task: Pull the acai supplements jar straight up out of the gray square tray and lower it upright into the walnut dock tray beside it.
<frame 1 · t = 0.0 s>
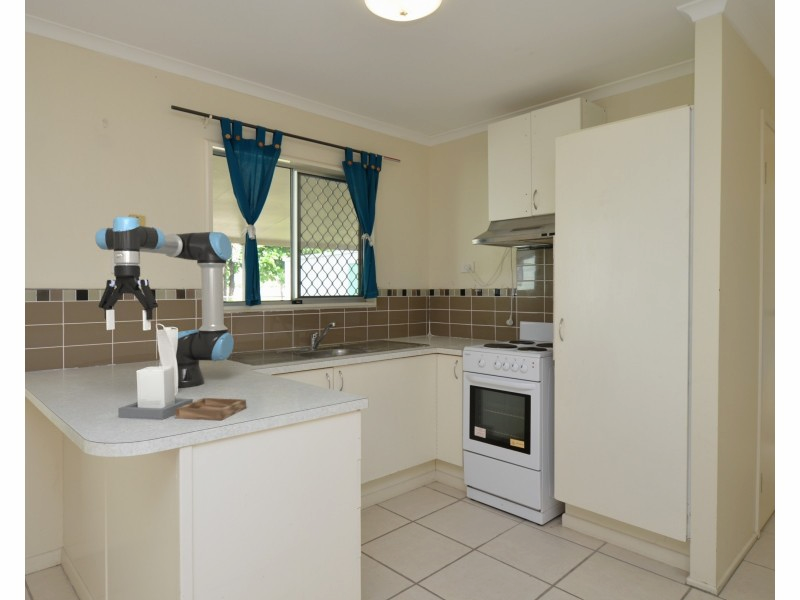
hand: (128, 329, 166), 28 cm above the worktop, fingers open, 13 cm apart
gray square tray: (157, 412, 170), on the worktop
dock tray: (212, 413, 168), on the worktop
skyscraper: (168, 396, 196), on the worktop
supplement box: (157, 413, 170), resting in gray square tray
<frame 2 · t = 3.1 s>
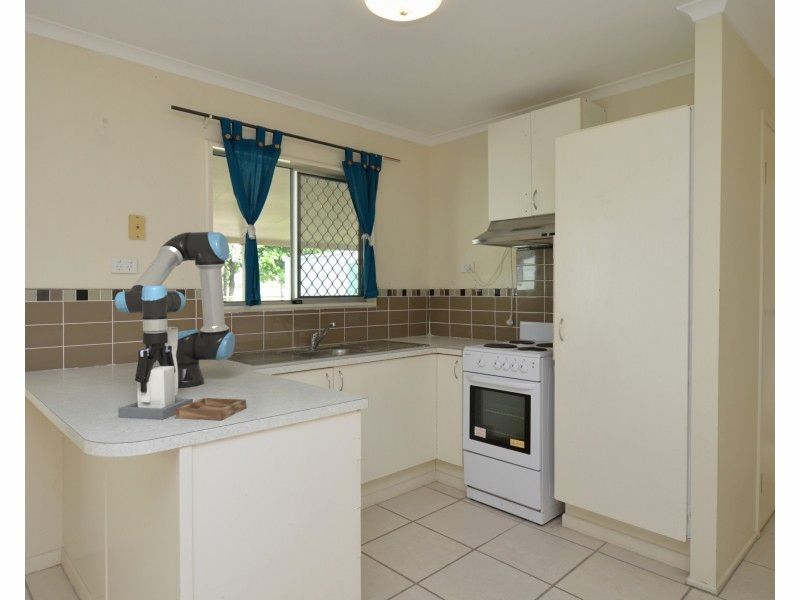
hand: (156, 398, 170), 5 cm above the worktop, fingers closed on supplement box, 10 cm apart
supplement box: (157, 412, 170), resting in gray square tray, touching gripper
everything else where it was.
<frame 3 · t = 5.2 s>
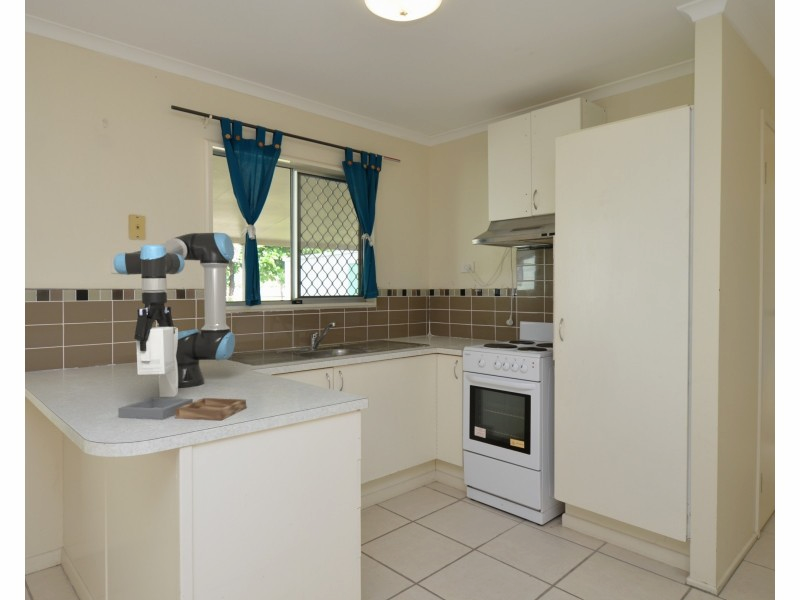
hand: (156, 358, 170), 18 cm above the worktop, fingers closed on supplement box, 10 cm apart
supplement box: (156, 373, 170), point 13 cm above the worktop, touching gripper
everything else where it was.
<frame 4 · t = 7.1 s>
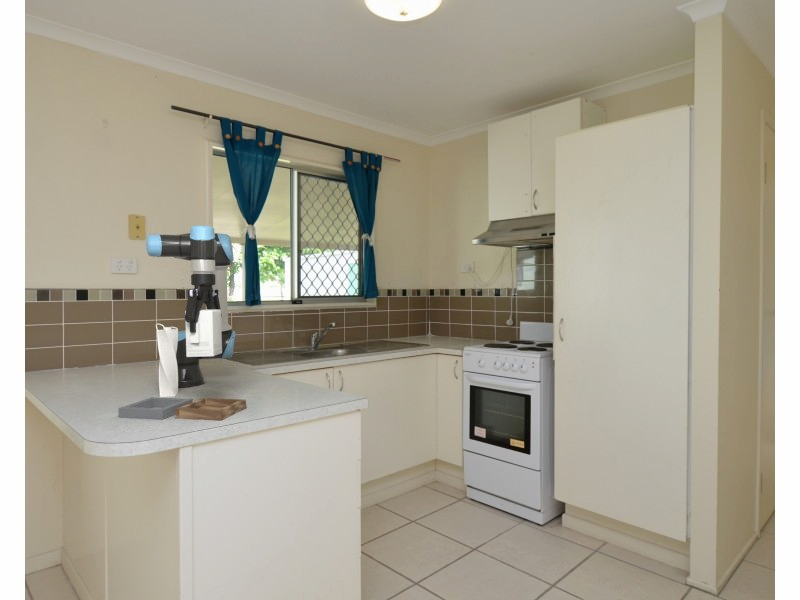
hand: (204, 340, 167), 24 cm above the worktop, fingers closed on supplement box, 10 cm apart
supplement box: (204, 355, 167), point 19 cm above the worktop, touching gripper
everything else where it was.
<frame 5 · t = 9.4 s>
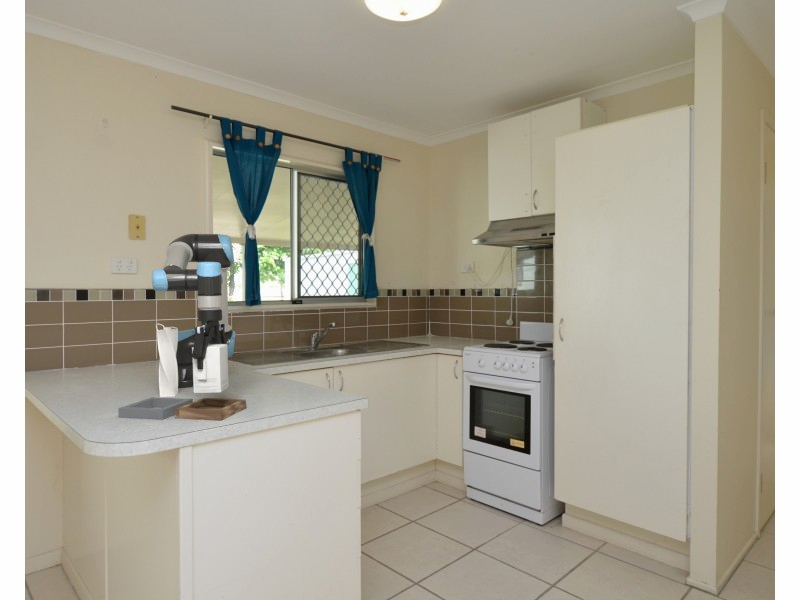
hand: (211, 376, 168), 12 cm above the worktop, fingers closed on supplement box, 10 cm apart
supplement box: (211, 391, 168), point 7 cm above the worktop, touching gripper
everything else where it was.
when the fingers open (7 cm above the worktop, at t = 11.4 s): supplement box drops 1 cm, resting on dock tray.
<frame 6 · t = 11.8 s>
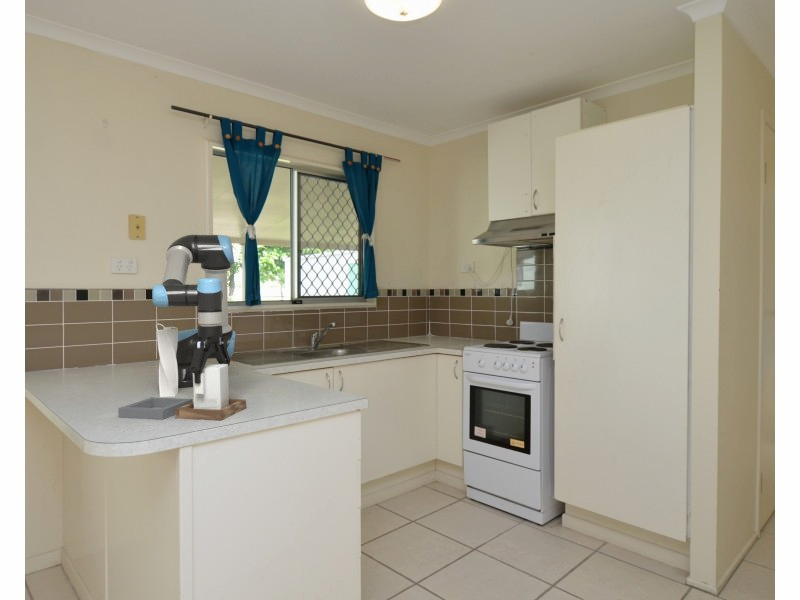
hand: (211, 389, 168), 8 cm above the worktop, fingers open, 13 cm apart
supplement box: (211, 411, 168), point 1 cm above the worktop, touching dock tray
everything else where it was.
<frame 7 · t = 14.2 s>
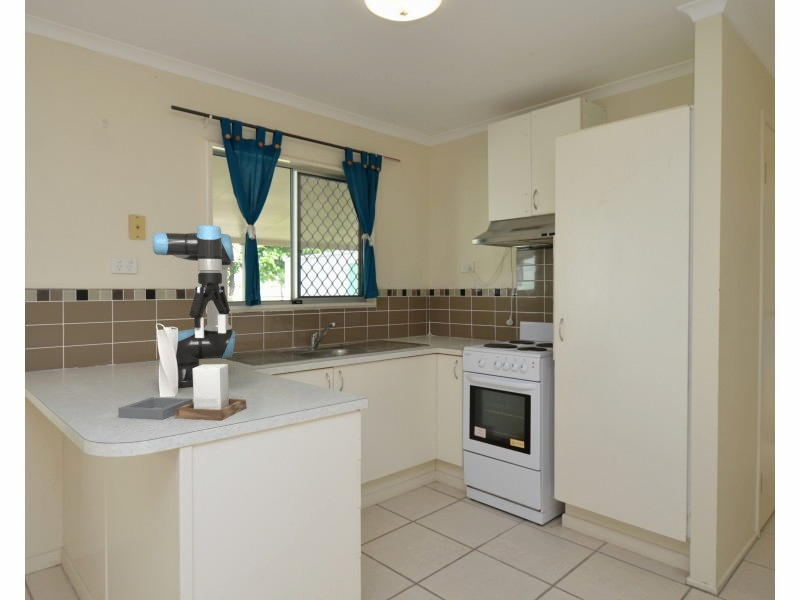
hand: (211, 335, 170), 26 cm above the worktop, fingers open, 13 cm apart
nothing on the worktop moved.
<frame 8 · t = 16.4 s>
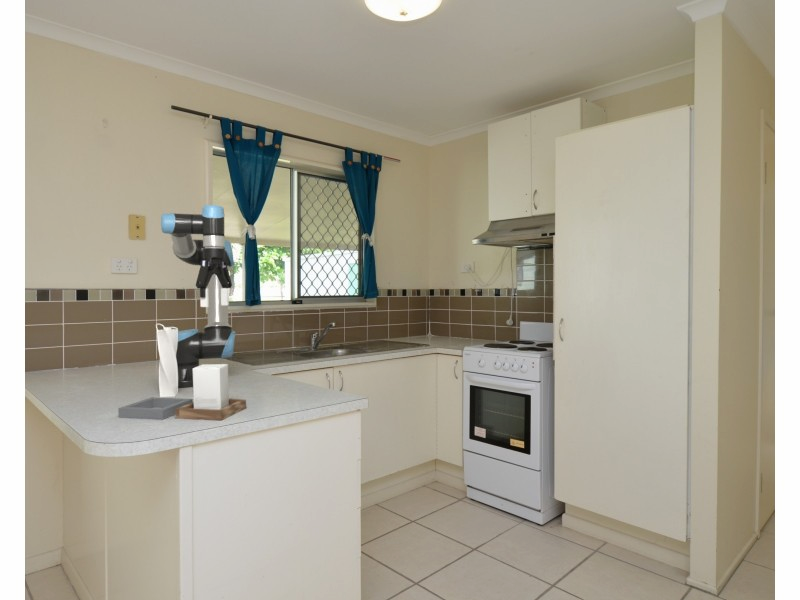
hand: (215, 306, 186), 35 cm above the worktop, fingers open, 13 cm apart
nothing on the worktop moved.
at the end: supplement box 0.1 cm off-centre on the dock tray, point 0.6 cm above the dock tray's base; supplement box tilted 0°; the gripper is holding nothing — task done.
